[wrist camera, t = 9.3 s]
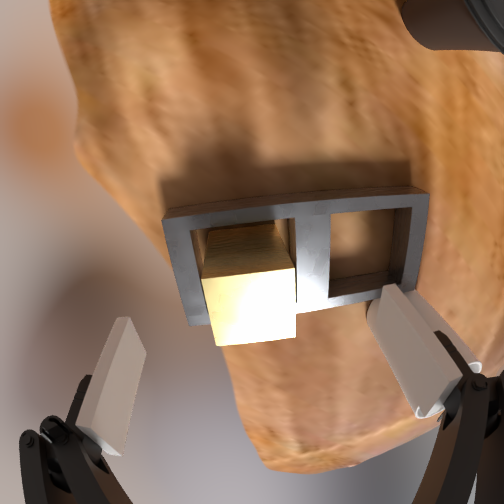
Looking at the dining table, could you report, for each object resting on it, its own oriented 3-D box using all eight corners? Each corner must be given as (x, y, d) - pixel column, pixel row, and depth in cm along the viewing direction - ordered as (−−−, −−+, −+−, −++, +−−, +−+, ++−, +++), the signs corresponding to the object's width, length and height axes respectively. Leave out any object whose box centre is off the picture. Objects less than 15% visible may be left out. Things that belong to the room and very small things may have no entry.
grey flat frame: (168, 208, 20) (161, 219, 18) (412, 186, 20) (429, 193, 18) (192, 307, 24) (189, 326, 21) (401, 276, 24) (414, 290, 22)
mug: (359, 296, 25) (419, 393, 14) (416, 269, 24) (490, 347, 13) (369, 357, 29) (409, 438, 18) (416, 334, 28) (464, 405, 18)
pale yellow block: (209, 231, 21) (201, 279, 15) (275, 223, 21) (294, 268, 15) (218, 286, 23) (216, 346, 17) (278, 279, 23) (295, 336, 17)
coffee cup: (374, -18, 12) (442, -61, 3) (439, -4, 12) (508, -24, 3) (404, 62, 16) (494, 48, 7) (464, 67, 15) (543, 68, 6)
